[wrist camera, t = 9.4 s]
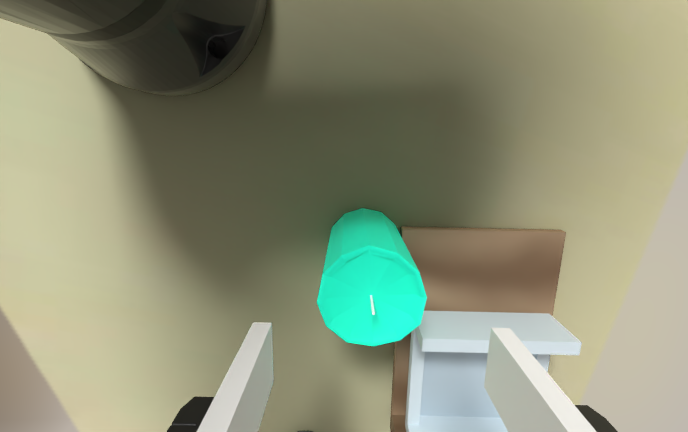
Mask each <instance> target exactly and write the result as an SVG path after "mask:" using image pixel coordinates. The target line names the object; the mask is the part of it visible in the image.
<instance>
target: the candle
mask: <svg viewBox="0 0 688 432" xmlns="http://www.w3.org/2000/svg"><path fill="white" fill-rule="evenodd" d="M426 299H427V296H426V292H425V289H424V286H423V282H422V279H421V275H420V272H419V270H418V268H417V266H416V264H415V262H414V260H413V259H412V257H411V255H410V253H409V251H408V249H407V247H406V245H405V243H404V241H403V239H402V237H401V235H400V233H399V231H398V229H397V227H396V225H395V224H394V223H393V222H392V221H391V220H390V219H388V218H387V217H386V216H385V215H384V214H383V213H382V212H379V211H375V210H370V209H365V208H361V209H358V210H355V211H351V212H348V213H345V214H344V215H343V216H342V217H341V218H340V219H339V220H338V221H337V222H336V223H335V225H334V226H333V227H332V229H331V234H330V239H329V244H328V249H327V254H326V259H325V264H324V269H323V274H322V279H321V284H320V289H319V294H318V299H317V304H318V307H319V309H320V312H321V314H322V317H323V320H324V322H325V325H326V326H327V327H328V328H329V329H330V330H332V331H333V332H334V333H335V334H337V335H338V336H339V337H341V338H342V339H343V340H344V341H346V342H347V343H354V344H361V345H368V346H377V345H382V344H386V343H391V342H396V341H400V340H401V339H403V338H404V337H405V336H406V335H408V334H409V333H410V332H411V331H413V330H414V329H415V328H416V327H418V326H419V325H420V324H421V320H422V316H423V312H424V308H425V304H426Z"/></svg>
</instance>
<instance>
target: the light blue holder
mask: <svg viewBox="0 0 688 432" xmlns="http://www.w3.org/2000/svg"><path fill="white" fill-rule="evenodd" d="M491 328H510V329H511V330H512V331H513V332H514V333H515V335H516V336H517V337H518V338H519V339H520V341H521V342H522V343H523V344H524V345H525V347H526V348H527V349H528V350H529V351H530V353H531V354H532V355H533V356H534V357H535V359H536V360H537V361H538V362H539V363H540V365H541V366H542V367H543V368H544V369H545V371H546V372H548V366H549V360H550V355H579V354H580V348H581V343H582V342H581V341H579V340H578V339H577V338H576V337H575V336H574V335H573V334H572V333H570V332H569V331H568V330H567V329H566V328H565V327H564V326H563V325H561V324H560V323H559V322H558V321H557V320H556V319H555V318H554V317H552V316H551V315H550V314H549V313H507V312H463V311H424V312H423V316H422V320H421V324H420V325H419V326H418V327H416V328H415V329H414V330H413V331H411V342H410V357H409V372H408V387H407V403H406V418H405V427H406V432H508V430H507V429H506V427H505V425H504V423H503V421H502V419H501V417H500V416H499V414H498V412H497V410H496V408H495V406H494V404H493V403H492V401H491V399H490V397H489V395H488V393H487V391H486V389H485V388H484V382H485V374H486V365H487V357H488V349H489V340H490V332H491Z"/></svg>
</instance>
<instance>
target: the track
mask: <svg viewBox="0 0 688 432" xmlns="http://www.w3.org/2000/svg"><path fill="white" fill-rule="evenodd" d="M565 235H566V232H564V231H562V230H544V229H494V228H445V227H401V237H402V239H403V241H404V243H405V245H406V247H407V249H408V251H409V253H410V255H411V257H412V259H413V260H414V262H415V264H416V266H417V268H418V270H419V272H420V275H421V279H422V282H423V286H424V289H425V292H426V296H427V299H426V304H425V308H424V311H463V312H507V313H549V314H550V315H551V316H552V315H553V309H554V303H555V297H556V291H557V284H558V278H559V272H560V266H561V260H562V254H563V247H564V241H565ZM410 342H411V332H410V333H409V334H408V335H406V336H405V337H404V338H403V339H401V340H400V341H396V342H395V347H394V366H393V384H392V402H391V420H390V429H391V432H406V427H405V418H406V403H407V387H408V372H409V357H410Z"/></svg>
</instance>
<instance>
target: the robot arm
mask: <svg viewBox="0 0 688 432" xmlns="http://www.w3.org/2000/svg"><path fill="white" fill-rule="evenodd" d="M266 4H267V0H0V18H2V19H5V20H8V21H11V22H14V23H17V24H20V25H23V26H26V27H29V28H32V29H36V30H39V31H42V32H45V33H47V34H48V35H50V36H51V37H52V38H53V39H55V40H56V41H57V42H58V43H60V44H61V45H62V46H63V47H65V48H66V49H67V50H69V51H70V52H71V53H73V54H74V55H75V56H77V57H78V58H79V59H80V60H81V61H82V62H83V63H84V64H85V65H87V66H88V67H89V68H91V69H92V70H94V71H95V72H97V73H98V74H100V75H101V76H103V77H105V78H107V79H109V80H111V81H113V82H115V83H117V84H120V85H122V86H125V87H128V88H131V89H135V90H139V91H143V92H148V93H153V94H158V95H167V96H179V95H188V94H193V93H197V92H200V91H203V90H206V89H208V88H210V87H213V86H215V85H216V84H218V83H220V82H221V81H223V80H224V79H226V78H227V77H228V76H230V75H231V74H232V73H233V72H234V71H235V70H236V69H237V68H238V67H239V66H240V65H241V64H242V63H243V61H244V60H245V59H246V58H247V56H248V55H249V53H250V52H251V50H252V48H253V46H254V44H255V43H256V40H257V38H258V36H259V33H260V31H261V28H262V24H263V21H264V16H265V12H266ZM273 382H274V373H273V342H272V323H266V322H253V324H252V326H251V327H250V329H249V331H248V333H247V335H246V337H245V339H244V341H243V343H242V345H241V347H240V349H239V351H238V353H237V355H236V357H235V358H234V360H233V362H232V364H231V366H230V368H229V370H228V372H227V374H226V376H225V378H224V380H223V382H222V384H221V386H220V388H219V389H218V391H217V393H216V395H215V397H194V398H193V399H192V400H190V401H189V402H188V403H187V404H186V405H185V406H183V407H182V408H181V409H180V411H179V413H178V414H177V416H176V417H175V419H174V421H173V422H172V426H170V427H169V429H168V430H167V432H258V431H259V428H260V424H261V421H262V418H263V415H264V411H265V408H266V405H267V402H268V398H269V395H270V392H271V389H272V385H273ZM484 388H485V389H486V391H487V393H488V395H489V397H490V399H491V401H492V403H493V404H494V406H495V408H496V410H497V412H498V414H499V416H500V417H501V419H502V421H503V423H504V425H505V427H506V429H507V430H508V432H617V431H616V429H615V428H614V427H613V426H612V425H611V424H610V423H609V422H608V421H607V420H606V418H604V417H603V416H601V415H600V414H599V413H597V412H596V411H594V410H593V409H592V408H590V407H589V406H587V405H574V404H573V403H572V402H571V400H570V399H569V398H568V397H567V396H566V394H565V393H564V392H563V391H562V390H561V389H560V387H559V386H558V385H557V384H556V383H555V381H554V380H553V379H552V378H551V377H550V375H549V374H548V373H547V372H546V371H545V369H544V368H543V367H542V366H541V365H540V363H539V362H538V361H537V360H536V359H535V357H534V356H533V355H532V354H531V353H530V351H529V350H528V349H527V348H526V347H525V345H524V344H523V343H522V342H521V341H520V339H519V338H518V337H517V336H516V335H515V333H514V332H513V331H512V330H511V329H510V328H491V332H490V340H489V349H488V357H487V365H486V374H485V382H484Z"/></svg>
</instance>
